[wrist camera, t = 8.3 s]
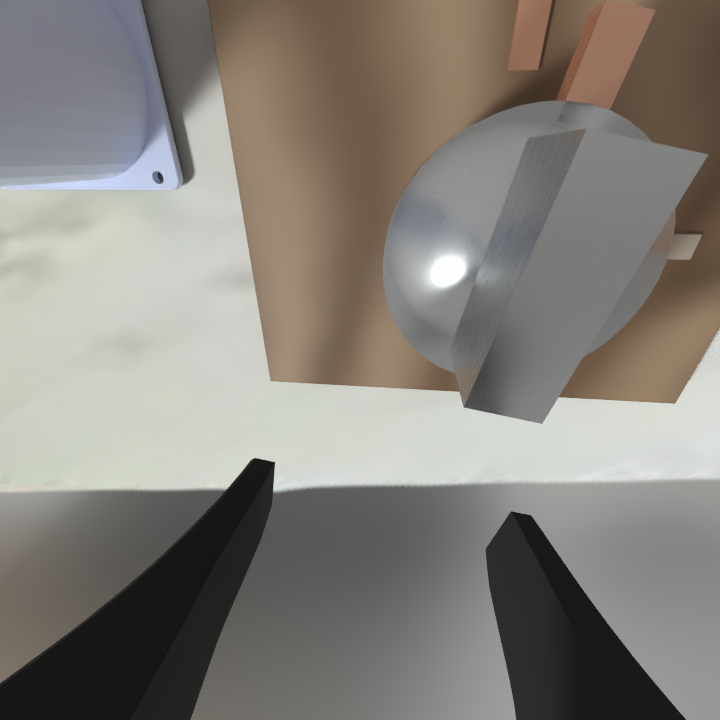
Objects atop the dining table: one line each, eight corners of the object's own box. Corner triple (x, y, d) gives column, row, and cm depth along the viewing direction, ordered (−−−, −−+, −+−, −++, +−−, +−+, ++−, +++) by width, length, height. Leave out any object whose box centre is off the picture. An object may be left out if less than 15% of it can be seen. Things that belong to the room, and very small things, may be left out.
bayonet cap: (559, 374, 15) (629, 468, 11) (365, 333, 15) (349, 409, 11) (742, 65, 10) (1062, -24, 5) (437, -2, 10) (472, -155, 5)
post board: (277, 370, 21) (259, 399, 18) (221, 3, 13) (175, -36, 10) (660, 390, 19) (700, 426, 16) (888, -29, 11) (1043, -88, 8)
